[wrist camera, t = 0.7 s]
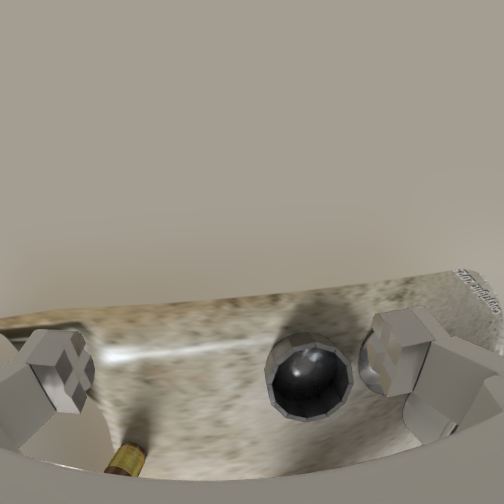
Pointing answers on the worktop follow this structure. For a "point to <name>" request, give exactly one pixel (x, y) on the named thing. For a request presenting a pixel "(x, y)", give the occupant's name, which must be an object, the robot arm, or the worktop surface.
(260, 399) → the worktop surface
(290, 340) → the pot
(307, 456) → the worktop surface
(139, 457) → the sauce bottle
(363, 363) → the lid
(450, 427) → the utensil holder
